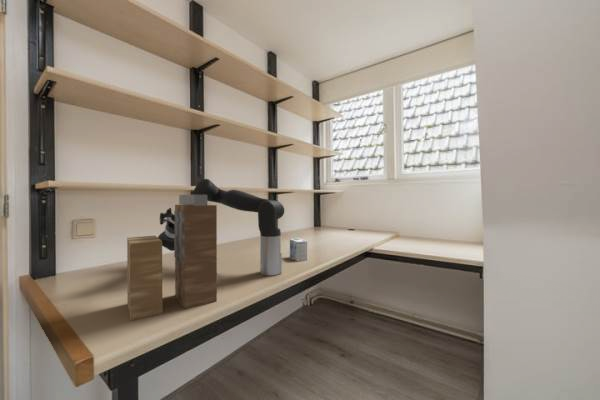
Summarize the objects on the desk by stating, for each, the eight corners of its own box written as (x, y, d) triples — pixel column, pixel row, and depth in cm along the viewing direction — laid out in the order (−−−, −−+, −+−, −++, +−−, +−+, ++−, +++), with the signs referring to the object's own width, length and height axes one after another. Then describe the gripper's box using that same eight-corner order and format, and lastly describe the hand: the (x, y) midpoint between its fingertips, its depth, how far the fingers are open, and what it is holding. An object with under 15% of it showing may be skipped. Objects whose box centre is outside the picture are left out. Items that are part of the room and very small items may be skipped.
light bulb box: (289, 257, 150) (289, 238, 149) (299, 256, 152) (300, 237, 152) (296, 261, 140) (296, 241, 140) (307, 260, 142) (307, 240, 142)
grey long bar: (179, 204, 99) (179, 195, 99) (190, 203, 101) (190, 195, 101) (194, 205, 81) (194, 194, 81) (207, 205, 84) (207, 194, 84)
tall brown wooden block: (173, 295, 91) (173, 204, 91) (204, 289, 97) (204, 204, 97) (182, 309, 80) (182, 205, 79) (216, 301, 86) (216, 205, 86)
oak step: (127, 303, 84) (127, 237, 83) (155, 298, 88) (155, 235, 88) (130, 320, 72) (130, 244, 72) (162, 312, 77) (162, 241, 77)
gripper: (156, 220, 113) (161, 201, 101) (190, 218, 121) (199, 201, 110) (157, 235, 110) (163, 218, 98) (192, 233, 118) (201, 217, 107)
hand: (182, 209), depth 104 cm, fingers open, 8 cm apart
